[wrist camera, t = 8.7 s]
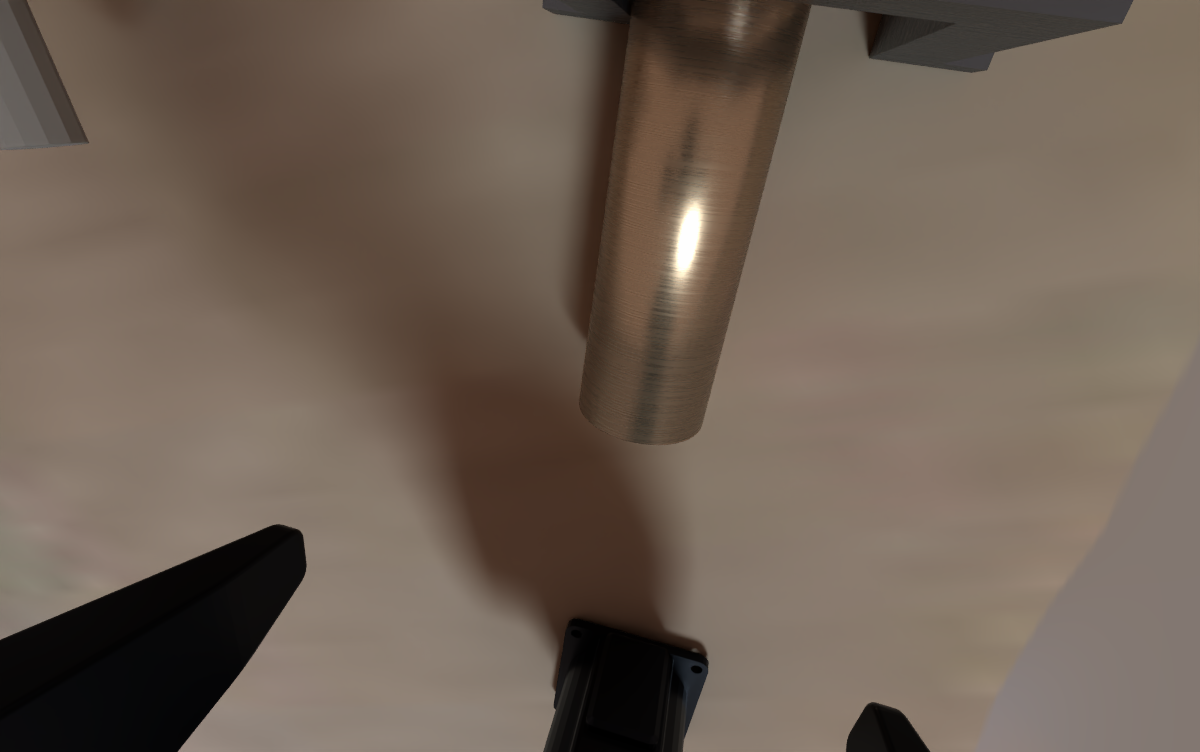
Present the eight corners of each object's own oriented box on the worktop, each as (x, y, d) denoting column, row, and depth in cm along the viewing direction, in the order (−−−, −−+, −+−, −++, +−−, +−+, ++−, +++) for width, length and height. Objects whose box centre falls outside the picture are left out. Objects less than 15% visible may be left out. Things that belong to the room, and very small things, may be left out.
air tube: (728, 414, 18) (657, 465, 15) (628, 365, 20) (548, 402, 17) (925, -277, 11) (862, -445, 8) (735, -237, 13) (627, -356, 10)
